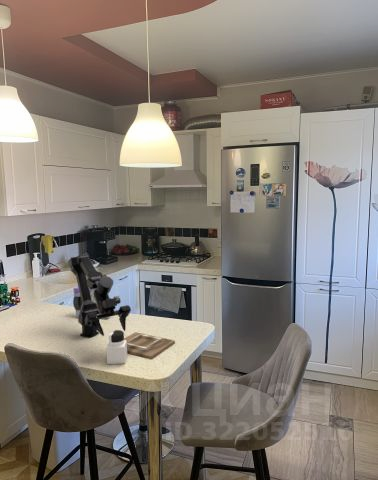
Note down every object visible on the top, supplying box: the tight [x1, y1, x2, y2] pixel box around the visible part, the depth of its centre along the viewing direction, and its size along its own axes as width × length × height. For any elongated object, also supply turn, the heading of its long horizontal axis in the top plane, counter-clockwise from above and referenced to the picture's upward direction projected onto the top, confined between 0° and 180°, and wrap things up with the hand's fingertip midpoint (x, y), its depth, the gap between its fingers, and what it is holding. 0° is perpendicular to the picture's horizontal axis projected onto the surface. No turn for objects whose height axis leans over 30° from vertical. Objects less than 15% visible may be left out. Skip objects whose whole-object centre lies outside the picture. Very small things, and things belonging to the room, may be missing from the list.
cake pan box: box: [72, 284, 110, 320], centre depth 205 cm, size 19×5×18 cm, turn 81°
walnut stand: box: [124, 332, 176, 360], centre depth 168 cm, size 22×18×2 cm
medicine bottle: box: [106, 329, 128, 365], centre depth 154 cm, size 7×7×12 cm
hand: (114, 333), depth 155 cm, fingers open, 9 cm apart
